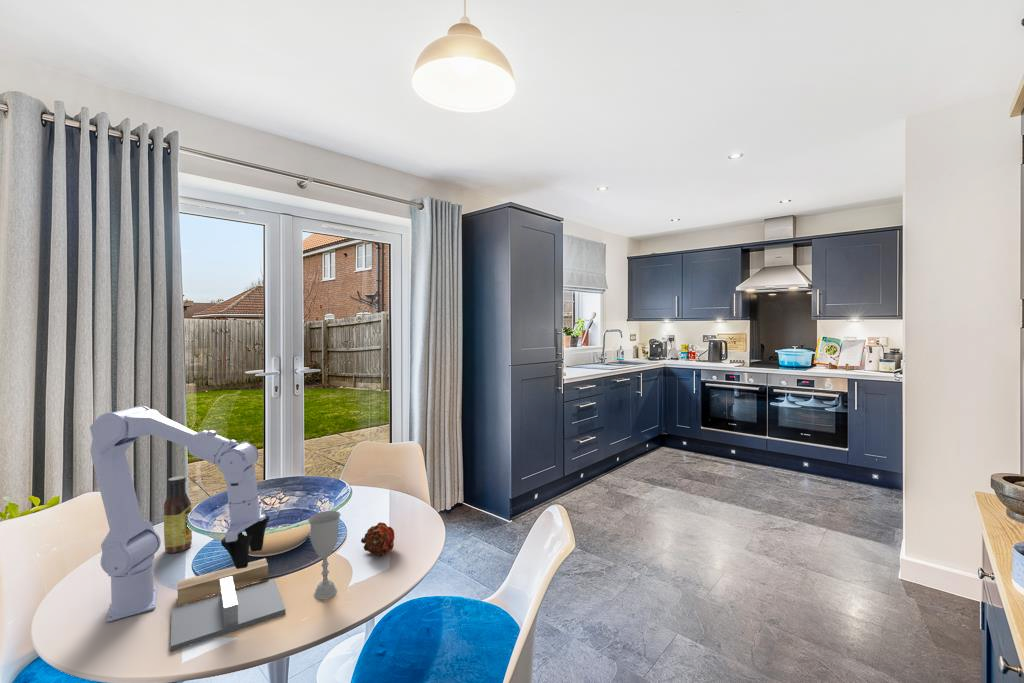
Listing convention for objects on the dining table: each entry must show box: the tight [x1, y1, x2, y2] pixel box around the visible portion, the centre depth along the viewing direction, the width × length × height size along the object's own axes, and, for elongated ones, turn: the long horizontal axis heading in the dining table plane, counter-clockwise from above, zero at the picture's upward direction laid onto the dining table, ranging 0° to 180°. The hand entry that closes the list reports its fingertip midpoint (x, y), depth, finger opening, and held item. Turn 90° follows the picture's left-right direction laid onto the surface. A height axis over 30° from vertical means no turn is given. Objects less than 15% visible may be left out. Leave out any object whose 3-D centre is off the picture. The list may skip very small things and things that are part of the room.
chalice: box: [307, 510, 341, 600], centre depth 107 cm, size 7×7×18 cm
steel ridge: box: [219, 576, 238, 627], centre depth 99 cm, size 13×2×4 cm, turn 36°
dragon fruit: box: [360, 522, 395, 557], centre depth 127 cm, size 8×8×12 cm
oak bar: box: [177, 557, 269, 607], centre depth 109 cm, size 4×18×4 cm, turn 126°
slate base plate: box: [170, 579, 286, 652], centre depth 99 cm, size 14×20×1 cm
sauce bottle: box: [163, 475, 193, 554], centre depth 128 cm, size 7×6×20 cm
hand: (249, 558), depth 103 cm, fingers open, 7 cm apart
